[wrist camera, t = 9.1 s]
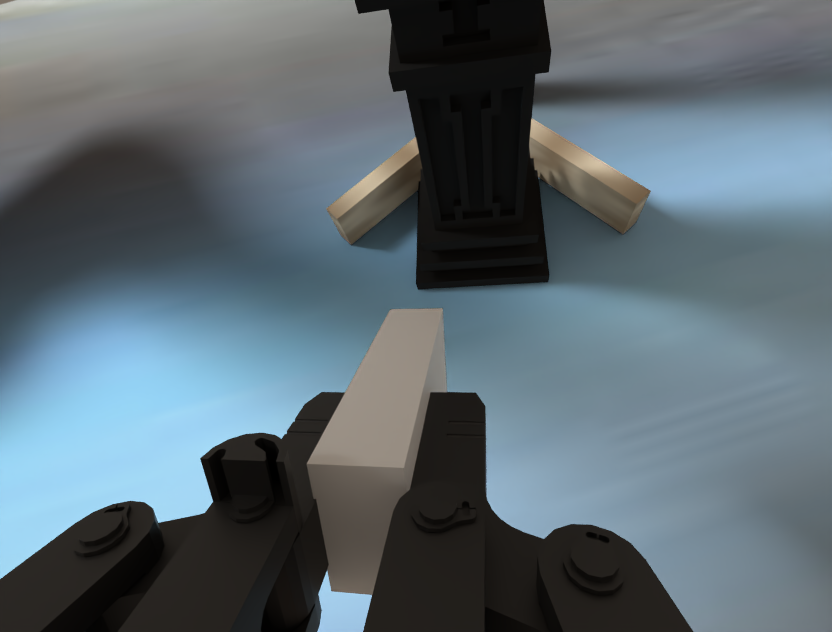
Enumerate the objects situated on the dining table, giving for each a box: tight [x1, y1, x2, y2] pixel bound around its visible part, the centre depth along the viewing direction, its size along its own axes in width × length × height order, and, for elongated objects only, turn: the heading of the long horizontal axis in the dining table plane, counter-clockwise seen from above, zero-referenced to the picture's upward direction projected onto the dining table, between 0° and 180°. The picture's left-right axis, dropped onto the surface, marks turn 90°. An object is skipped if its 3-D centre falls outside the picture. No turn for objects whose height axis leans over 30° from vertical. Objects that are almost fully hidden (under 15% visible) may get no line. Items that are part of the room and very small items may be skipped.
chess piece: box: [355, 0, 551, 289], centre depth 21 cm, size 8×8×20 cm
